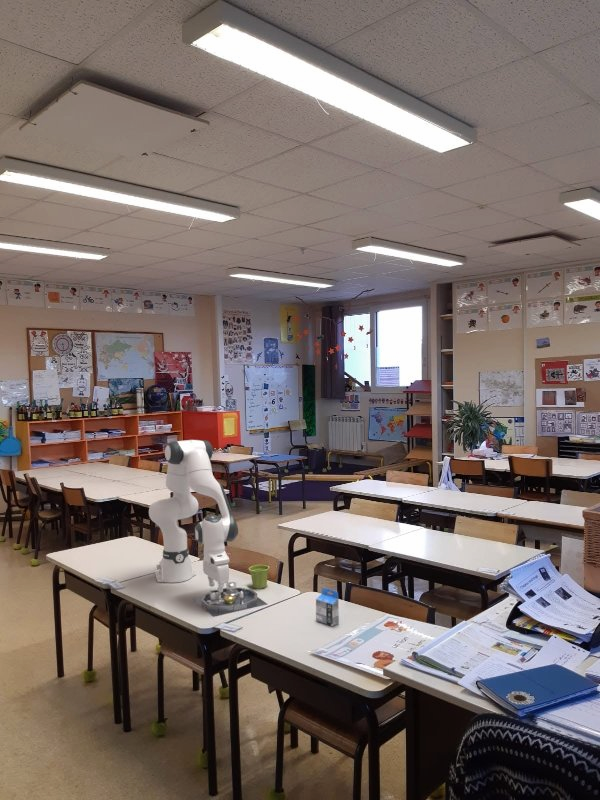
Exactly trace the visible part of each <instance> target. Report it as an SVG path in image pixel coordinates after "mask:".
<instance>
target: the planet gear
mask: <svg viewBox="0 0 600 800" xmlns="http://www.w3.org/2000/svg"><path fill="white" fill-rule="evenodd" d="M209 592H210V600H208V601H207V603H208V604H212V605H217V606H221V605H224V600H222V598H221V593H219V592H218V589H212V590H210V591H209Z"/></svg>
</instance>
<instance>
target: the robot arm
mask: <svg viewBox="0 0 600 800" xmlns="http://www.w3.org/2000/svg"><path fill="white" fill-rule="evenodd" d="M212 457H213V446H212V443H210V441H209V440H205V439H201V440H199V439H188V440H178V441H177V440H173V441H170V442H168V443H167V444H166V446H165V447H164V458H165V460H166V462H167V463H168V464H167V469H166V475H165V476H166V477H165V486H166V488H167V489H168V490H169V491H171V492H172V497H169V498H164V499H160V500H158V501H155V502H153V503H151V504H150V506H149V509H148V516H149V519H150V520H151V521H152V522H153V523H155V524H156V525H157V526H158V527H159V529H160V530H161V534H162V538H163V539H162V540H163V550H162V558H161V560H160V561H159V564H156V571H154V575H155V578H156V583H157V582H158V583H163V582H164V583H181V582H186V581H189V580H190V579H192V577H194V576H196V575H197V574H196V572H195V571H193V570H194V569H193V560H192V558H191V557H190V555H189V553H190V551H189V547H188V535H187V532H186V529H184V528H182V527H180V526H179V525H178V521H180V520H183V519H188V518H190V517H192V516H194V515H196V514H197V513H198V511H199V507H200V506H199V501H198V500H197V498H196V497H195V496H194V495H193V494H192V492H191V490H192V491H194V492H195V493H197V494H199V495H203V496H206V497H210V498H212V499H214V500H215V501H216V503H217V505H218V508H219V512H220V514H221V516H219V515H215V514H212V515H211V514H210V515H206V516H205V517H204V518H203V520H202V521H200V522H199V521H198V523H197V524H196V525H195V526H194V540H195V541H196V542H197V543H198V544H200V545H203V559H202V571H203V574H205V575H207V580H208V584H209V585H208V586H210V587H214V586H215V582H217V590H218V592H219V593H221V592H223V588H224V586H225V584H226V583H228V582H229V580H230V567H229V563H230V557H229V555H228V554H227V551H226V546H225V543H226V542H233V541H234V540H236V538H237V537H238V535H239V527H238V523H237V522H236V519H235V516H234V514H233V512H232V509H231V506H230V503H229V499H228V497H227V493H226V491H225V488H224V487H223V485H222V484H223V483H221V482H219V481H217V479H216V478H215V476H214V475H213V468H212V463H211V461H210V460H211V459H212Z"/></svg>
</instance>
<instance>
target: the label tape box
mask: <svg viewBox="0 0 600 800" xmlns="http://www.w3.org/2000/svg"><path fill="white" fill-rule="evenodd" d="M339 611H340V610H339V592H338V591H337V590H333V589H330V588H326V587H324V586H323V587H322V586H321V594H319V596H318V597H317V598H316V599H315V621H317V622H319V623H322V624H325V625H328V626H331V627H335V626H337V625H339V621H340V620H339V619H340V616H339V615H340V612H339Z"/></svg>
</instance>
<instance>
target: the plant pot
mask: <svg viewBox="0 0 600 800" xmlns="http://www.w3.org/2000/svg"><path fill="white" fill-rule="evenodd" d="M269 569H270V566H269V565H266V564H265V565H264V564H256V565H251V566H250V567H248V571H249V573H250V577H251V583H252V587H253V588H255V589H257V590H258V589H263V588H266V587H267V586H268V585H267V584H268V572H269Z"/></svg>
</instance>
